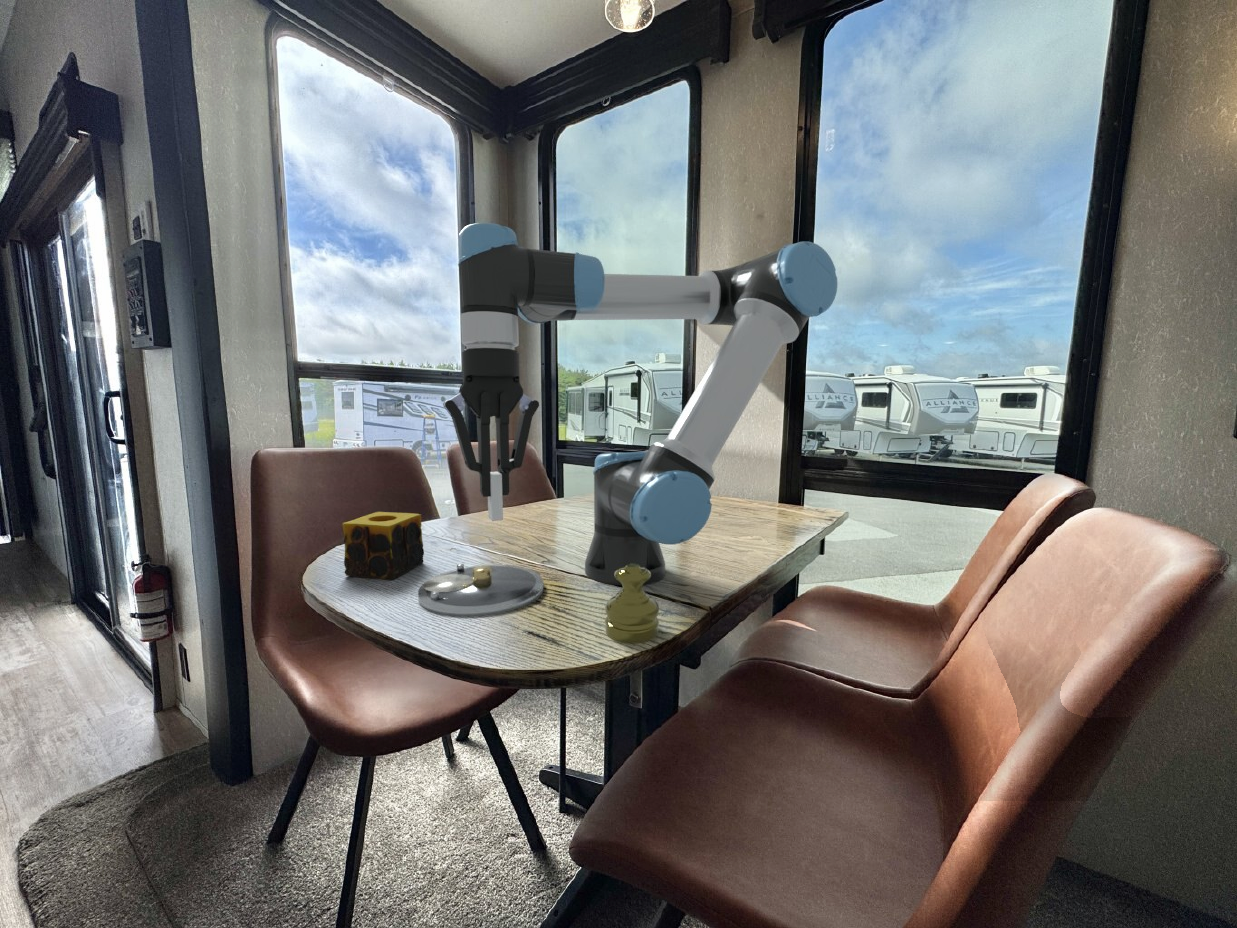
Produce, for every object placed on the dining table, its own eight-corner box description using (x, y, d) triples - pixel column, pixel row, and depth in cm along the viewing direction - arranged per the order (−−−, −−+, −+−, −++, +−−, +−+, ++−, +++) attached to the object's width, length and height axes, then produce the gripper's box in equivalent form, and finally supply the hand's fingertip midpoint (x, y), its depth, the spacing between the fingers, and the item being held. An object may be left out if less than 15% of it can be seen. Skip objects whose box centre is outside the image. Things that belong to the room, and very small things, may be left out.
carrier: (550, 571, 95) (549, 551, 94) (533, 618, 75) (532, 592, 74) (442, 571, 95) (442, 550, 94) (397, 617, 75) (395, 591, 74)
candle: (393, 581, 90) (390, 526, 88) (343, 577, 92) (339, 523, 90) (425, 563, 99) (423, 513, 98) (380, 559, 101) (377, 510, 100)
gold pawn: (669, 635, 70) (671, 565, 69) (632, 654, 65) (633, 579, 63) (631, 618, 75) (632, 553, 74) (593, 634, 70) (594, 564, 69)
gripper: (530, 352, 75) (532, 508, 78) (436, 348, 69) (444, 517, 72) (545, 348, 68) (547, 519, 71) (443, 343, 63) (451, 529, 66)
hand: (495, 518), depth 72 cm, fingers closed
